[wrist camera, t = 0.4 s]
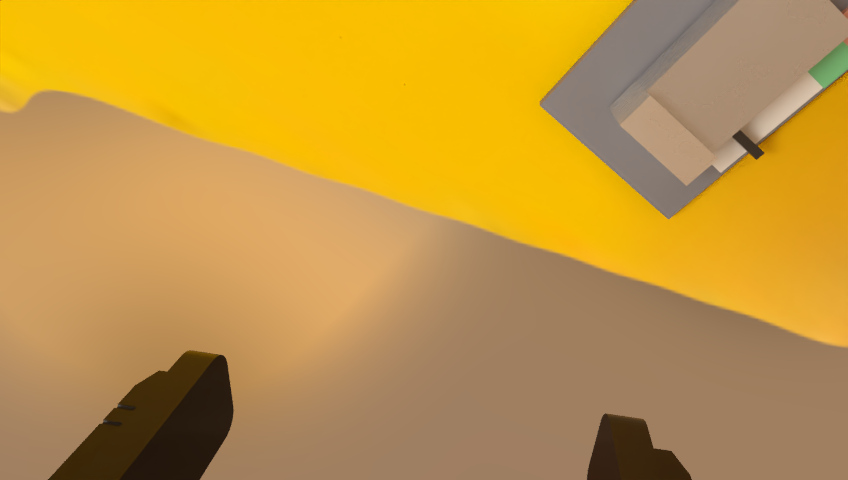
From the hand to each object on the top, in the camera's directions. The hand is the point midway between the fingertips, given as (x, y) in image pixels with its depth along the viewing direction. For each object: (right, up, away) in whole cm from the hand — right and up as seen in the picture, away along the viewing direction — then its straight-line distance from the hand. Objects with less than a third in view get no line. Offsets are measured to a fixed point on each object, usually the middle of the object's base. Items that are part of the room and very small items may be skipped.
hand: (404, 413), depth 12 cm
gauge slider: (+17, +12, +19) cm, 28 cm away
